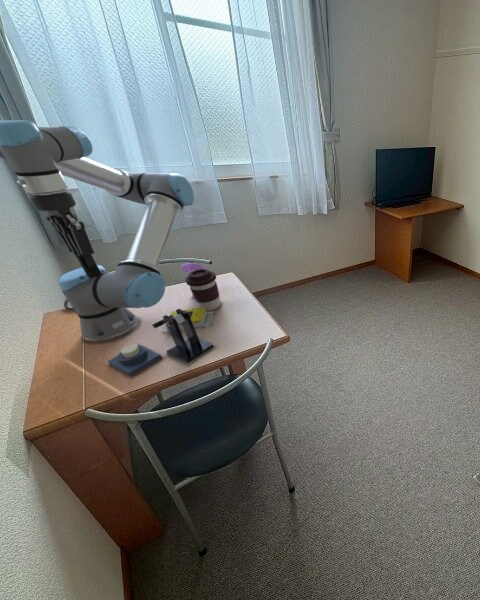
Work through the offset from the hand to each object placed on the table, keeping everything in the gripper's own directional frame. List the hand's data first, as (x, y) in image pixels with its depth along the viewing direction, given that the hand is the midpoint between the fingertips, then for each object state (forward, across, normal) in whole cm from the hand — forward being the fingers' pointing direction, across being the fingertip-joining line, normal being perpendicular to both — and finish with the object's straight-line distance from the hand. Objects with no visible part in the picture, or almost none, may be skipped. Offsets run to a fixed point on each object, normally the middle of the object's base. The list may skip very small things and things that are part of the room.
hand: (94, 275), depth 91 cm
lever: (+16, +15, +7) cm, 23 cm away
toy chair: (+27, -11, +34) cm, 45 cm away
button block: (+26, +9, -4) cm, 28 cm away
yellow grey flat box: (+27, +4, +17) cm, 32 cm away
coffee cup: (+27, +1, +28) cm, 39 cm away
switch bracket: (+26, +19, +7) cm, 33 cm away
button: (+23, +9, -4) cm, 25 cm away
